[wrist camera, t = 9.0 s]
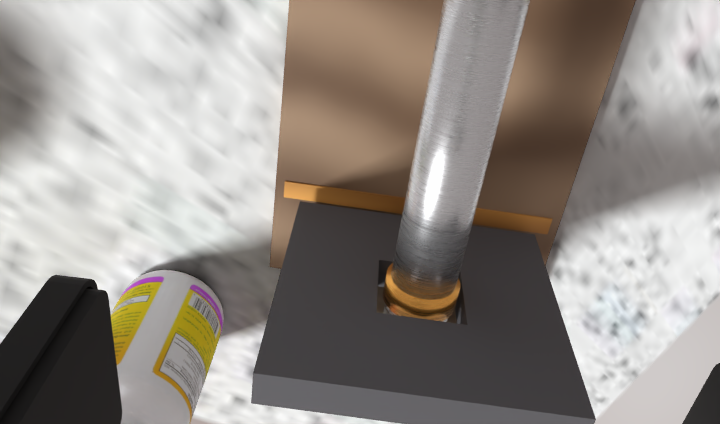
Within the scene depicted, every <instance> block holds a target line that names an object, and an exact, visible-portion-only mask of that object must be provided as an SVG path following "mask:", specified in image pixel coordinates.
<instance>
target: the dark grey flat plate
mask: <svg viewBox="0 0 720 424" xmlns="http://www.w3.org/2000/svg"><path fill="white" fill-rule="evenodd" d="M401 219H402V216H401V215H394V214H387V213H380V212H373V211H365V210H358V209H351V208H344V207H337V206H330V205H323V204H316V203H309V202H302V201H300V202H299V206H298V210H297V213H296V217H295V221H294V224H293V228H292V232H291V236H290V239H289V243H288V247H287V250H286V254H285V258H284V261H283V265H282V269H281V273H280V276H279V280H278V284H277V287H276V291H275V295H274V298H273V302H272V306H271V309H270V313H269V317H268V321H267V324H266V328H265V332H264V335H263V339H262V343H261V346H260V350H259V354H258V357H257V361H256V365H255V369H254V372H253V385H252V400H251V403H253V404H261V405H268V406H275V407H283V408H290V409H298V410H305V411H313V412H320V413H327V414H335V415H342V416H350V417H357V418H365V419H372V420H380V421H387V422H394V423H402V424H594V422H595V420H596V419H595V416H594V413H593V410H592V407H591V404H590V401H589V397H588V394H587V391H586V388H585V385H584V382H583V379H582V376H581V373H580V370H579V367H578V364H577V361H576V358H575V355H574V352H573V349H572V346H571V343H570V340H569V337H568V334H567V331H566V328H565V325H564V322H563V319H562V316H561V313H560V309H559V306H558V303H557V300H556V297H555V294H554V291H553V288H552V285H551V282H550V279H549V276H548V273H547V270H546V267H545V264H544V261H543V258H542V255H541V252H540V249H539V246H538V243H537V240H536V237H535V234H528V233H521V232H514V231H507V230H500V229H493V228H486V227H479V226H472V227H471V231H470V235H469V238H468V242H467V246H466V250H465V254H464V258H463V261H462V265H461V269H460V273H459V277H458V278H459V281H460V291H459V295H458V298H457V302H456V306H455V314H456V323H450V322H442V321H435V320H428V319H421V318H413V317H406V316H399V315H392V314H384V313H377V293H378V286H379V287H384V284H385V279H386V274H387V270H388V267H389V266H390V265H391V264H392V263H393V260H394V255H395V250H396V245H397V240H398V234H399V229H400V224H401Z"/></svg>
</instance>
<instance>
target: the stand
mask: <svg viewBox="0 0 720 424" xmlns="http://www.w3.org/2000/svg"><path fill="white" fill-rule="evenodd" d="M443 1H444V0H289V13H288V26H287V40H286V53H285V67H284V80H283V94H282V107H281V121H280V134H279V148H278V162H277V175H276V189H275V202H274V216H273V229H272V243H271V256H270V267H273V268H280V269H282V265H283V261H284V258H285V254H286V250H287V247H288V243H289V239H290V236H291V232H292V228H293V224H294V221H295V217H296V213H297V210H298V206H299V202H300V201H302V202H309V203H316V204H323V205H330V206H337V207H344V208H351V209H358V210H365V211H373V212H380V213H387V214H394V215H401V216H402V214H403V208H404V203H405V198H406V193H407V188H408V182H409V177H410V172H411V167H412V162H413V157H414V151H415V146H416V141H417V136H418V131H419V125H420V120H421V115H422V110H423V105H424V99H425V94H426V89H427V84H428V79H429V74H430V68H431V63H432V58H433V53H434V48H435V42H436V37H437V32H438V27H439V22H440V16H441V11H442V6H443ZM635 1H636V0H530V3H529V7H528V11H527V15H526V19H525V23H524V27H523V30H522V34H521V38H520V42H519V46H518V50H517V54H516V57H515V61H514V65H513V69H512V73H511V77H510V80H509V84H508V88H507V92H506V96H505V100H504V104H503V107H502V111H501V115H500V119H499V123H498V127H497V131H496V134H495V138H494V142H493V146H492V150H491V154H490V157H489V161H488V165H487V169H486V173H485V177H484V181H483V184H482V188H481V192H480V196H479V200H478V204H477V208H476V211H475V215H474V219H473V223H472V226H479V227H486V228H493V229H500V230H507V231H514V232H521V233H528V234H535V237H536V240H537V243H538V246H539V249H540V252H541V255H542V258H543V261H544V264H545V265H546V262H547V259H548V256H549V253H550V250H551V247H552V244H553V241H554V238H555V235H556V233H557V230H558V227H559V224H560V221H561V218H562V215H563V212H564V209H565V206H566V203H567V200H568V197H569V194H570V191H571V189H572V186H573V183H574V180H575V177H576V174H577V171H578V168H579V165H580V162H581V159H582V156H583V153H584V150H585V147H586V145H587V142H588V139H589V136H590V133H591V130H592V127H593V124H594V121H595V118H596V115H597V112H598V109H599V106H600V103H601V101H602V98H603V95H604V92H605V89H606V86H607V83H608V80H609V77H610V74H611V71H612V68H613V65H614V62H615V59H616V57H617V54H618V51H619V48H620V45H621V42H622V39H623V36H624V33H625V30H626V27H627V24H628V21H629V18H630V15H631V13H632V10H633V7H634V4H635ZM383 289H384V287H379V286H378V293H377V313H383V312H384V307H385V302H384V300H383ZM447 322H450V323H456V314H455V310H454V312H453V314H452V315H451V316H450V317H449V318H448V319H447Z"/></svg>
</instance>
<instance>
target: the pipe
mask: <svg viewBox="0 0 720 424" xmlns="http://www.w3.org/2000/svg"><path fill="white" fill-rule="evenodd" d="M529 3H530V0H444V1H443V6H442V11H441V16H440V22H439V27H438V32H437V37H436V42H435V48H434V53H433V58H432V63H431V68H430V74H429V79H428V84H427V89H426V94H425V99H424V105H423V110H422V115H421V120H420V125H419V131H418V136H417V141H416V146H415V151H414V157H413V162H412V167H411V172H410V177H409V182H408V188H407V193H406V198H405V203H404V208H403V214H402V219H401V224H400V229H399V234H398V240H397V245H396V250H395V255H394V260H393V263H392V264H391V265H390V266H389V267H388V270H387V274H386V279H385V284H384V289H383V300H384V302H385V307H384V312H383V313H384V314H392V315H399V316H406V317H413V318H421V319H428V320H435V321H442V322H447V319H448V318H449V317H450V316H451V315H452V314H453V312H454V310H455V306H456V302H457V298H458V295H459V291H460V281H459V278H458V277H459V273H460V269H461V265H462V261H463V258H464V254H465V250H466V246H467V242H468V238H469V235H470V231H471V227H472V223H473V219H474V215H475V211H476V208H477V204H478V200H479V196H480V192H481V188H482V184H483V181H484V177H485V173H486V169H487V165H488V161H489V157H490V154H491V150H492V146H493V142H494V138H495V134H496V131H497V127H498V123H499V119H500V115H501V111H502V107H503V104H504V100H505V96H506V92H507V88H508V84H509V80H510V77H511V73H512V69H513V65H514V61H515V57H516V54H517V50H518V46H519V42H520V38H521V34H522V30H523V27H524V23H525V19H526V15H527V11H528V7H529Z"/></svg>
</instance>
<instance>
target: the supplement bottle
mask: <svg viewBox="0 0 720 424" xmlns="http://www.w3.org/2000/svg"><path fill="white" fill-rule="evenodd" d="M110 315H111V323H112V331H113V339H114V347H115V355H116V363H117V371H118V379H119V388H120V396H121V404H122V420H121V424H190V422H191V419H192V416H193V413H194V410H195V408H196V405H197V402H198V399H199V396H200V393H201V390H202V387H203V385H204V382H205V379H206V376H207V373H208V370H209V367H210V364H211V361H212V359H213V355H214V353H215V350H216V347H217V344H218V341H219V338H220V335H221V331H222V327H223V321H224V315H223V309H222V306H221V303H220V301H219V299H218V297H217V296H216V295H215V293H214V292H213V291H212V290H211V289H210V288H209V287H208V286H207V285H206V284H205V283H203V282H202V281H200V280H199V279H197V278H195V277H193V276H191V275H188V274H185V273H182V272H178V271H172V270H158V271H152V272H149V273H146V274H143V275H141V276H139V277H138V278H136V279H135V280H134V281H132V282H131V283H130V284H129V285H128V287H127V288H126V289H125V291H124V292H123V294H122V296H121V297H120V299H119V301H118V302H117V304H116V306H115V308H114V309H113V311H112V313H111V314H110Z"/></svg>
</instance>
